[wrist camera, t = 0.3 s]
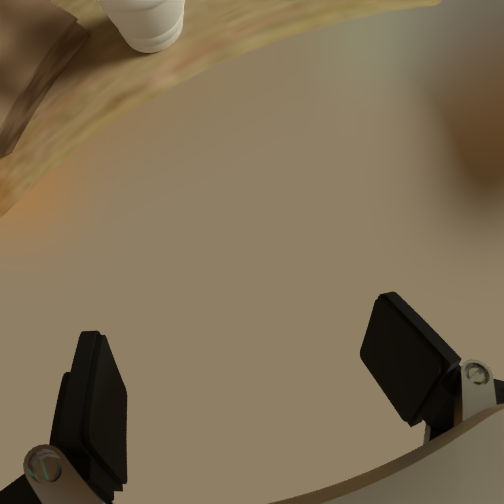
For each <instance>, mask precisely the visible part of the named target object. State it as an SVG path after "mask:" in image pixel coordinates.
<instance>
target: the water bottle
mask: <svg viewBox="0 0 504 504" xmlns="http://www.w3.org/2000/svg"><path fill="white" fill-rule="evenodd" d="M97 1H98V2H99V3H100V4H101V5H102V7H103V9H104V11H105V12H106V14H107V15H108V17H109V18H110V20H111V21H112V22H113V23H114V24H115V26H116V27H117V28H118V30H119V32H120V33H121V35H122V36H123V37H124V39H125V41H126V42H127V44H128V45H129V46H130V47H132V48H133V49H135V50H137V51H139V52H144V53H154V52H158V51H161V50H164V49H166V48H167V47H169V46H170V45H172V44H173V43H174V42H175V41H176V40H177V38H178V37H179V35H180V33H181V30H182V26H183V15H184V4H185V0H97Z"/></svg>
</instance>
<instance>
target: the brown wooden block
mask: <svg viewBox="0 0 504 504" xmlns="http://www.w3.org/2000/svg"><path fill="white" fill-rule="evenodd" d="M77 20H78V19H77V18H76V17H74V16H73V15H71V14H70V13H68V12H67V11H65V10H63V9H62V8H60V7H59V6H57V5H55V4H54V3H52V2H50V1H49V0H0V157H2V156H4V155H7V154H9V153H12V151H13V150H14V148H15V146H16V144H17V142H18V140H19V138H20V136H21V134H22V133H23V131H24V129H25V127H26V125H27V124H28V122H29V120H30V119H31V117H32V115H33V114H34V112H35V110H36V109H37V107H38V105H39V104H40V102H41V101H42V99H43V98H44V96H45V95H46V93H47V92H48V90H49V89H50V87H51V86H52V84H53V83H54V81H55V80H56V79H57V77H58V76H59V74H60V73H61V72H62V70H63V69H64V68H65V66H66V65H67V64H68V62H69V61H70V60H71V58H72V57H73V56H74V55H75V53H76V52H77V51H78V50H79V48H80V47H81V46H82V45H83V44H84V42H85V41H86V40H87V39H88V38H89V37H90V35H91V34H90V33H88V32H87V31H86V30H85V29H84V28H83V27H81V26H80V25H79V24H78V23H77V22H76V21H77Z"/></svg>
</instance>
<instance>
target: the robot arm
mask: <svg viewBox="0 0 504 504" xmlns="http://www.w3.org/2000/svg"><path fill="white" fill-rule="evenodd" d="M360 357H361V359H362V361H363V363H364V364H365V365H366V367H367V368H368V370H369V371H370V373H371V374H372V375H373V377H374V378H375V380H376V381H377V383H378V384H379V386H380V387H381V389H382V390H383V392H384V393H385V394H386V396H387V397H388V399H389V400H390V402H391V403H392V405H393V406H394V408H395V409H396V411H397V412H398V413H399V415H400V417H401V418H402V419H403V421H406V422H408V424H409V425H410V427H412V426H414V425H416V424H418V423H420V422H422V420H424V421H425V422H426V426H425V434H424V442H423V446H420V447H419V448H417V449H415V450H413V451H411V452H409V453H407V454H405V455H403V456H401V457H399V458H397V459H395V460H393V461H391V462H389V463H386V464H384V465H382V466H380V467H378V468H375V469H373V470H371V471H368V472H366V473H363V474H361V475H359V476H356V477H353V478H351V479H348V480H346V481H343V482H340V483H338V484H335V485H332V486H329V487H326V488H323V489H320V490H317V491H313V492H310V493H307V494H303V495H300V496H296V497H293V498H289V499H285V500H281V501H277V502H273V503H269V504H504V381H501V380H496V379H493V375H492V372H491V370H490V369H489V368H488V367H487V366H486V365H485V364H484V363H482V362H480V361H477V360H467V361H466V362H464V363H463V365H462V366H460V365H459V363H460V361H461V358H460V357H459V356H458V355H457V354H456V353H455V351H454V350H453V349H452V348H451V347H450V346H449V345H448V344H447V343H446V342H445V341H444V340H443V339H442V338H441V337H440V336H439V335H438V334H437V333H436V332H435V331H434V330H433V329H432V328H431V327H430V326H429V325H428V323H426V322H425V320H423V318H421V316H420V315H418V313H416V312H415V311H414V310H413V309H412V308H411V307H410V306H409V305H408V304H407V303H406V302H405V301H404V300H403V299H402V298H401V297H400V296H399V295H398V294H397V293H396V292H388V293H384V294H380V296H378V299H377V300H375V303H374V307H373V310H372V314H371V317H370V321H369V324H368V328H367V331H366V334H365V337H364V340H363V343H362V347H361V350H360ZM126 428H127V391H126V388H125V385H124V383H123V381H122V378H121V375H120V373H119V370H118V368H117V365H116V363H115V360H114V357H113V355H112V352H111V349H110V346H109V344H108V341H107V338H106V336H105V335H101V334H100V332H99V331H83V332H81V334H80V337H79V340H78V344H77V348H76V352H75V356H74V359H73V363H72V368H71V372H66V373H65V374H64V375H63V378H62V382H61V386H60V391H59V395H58V400H57V404H56V409H55V414H54V420H53V425H52V430H51V436H50V443H49V445H47V444H44V445H38V446H36V447H34V448H32V449H31V450H30V451H29V452H28V453H27V455H26V457H25V459H24V463H23V467H24V474H23V475H22V476H21V477H19V478H18V479H16V480H15V481H14V482H12V483H11V484H10V485H8V486H7V487H6V488H4V489H3V490H1V491H0V504H114V503H113V502H112V501H113V500H114V491H123V486H122V484H126V483H127V452H126V451H127V450H126V449H127V448H126V446H127V445H126V431H127V429H126Z"/></svg>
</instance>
